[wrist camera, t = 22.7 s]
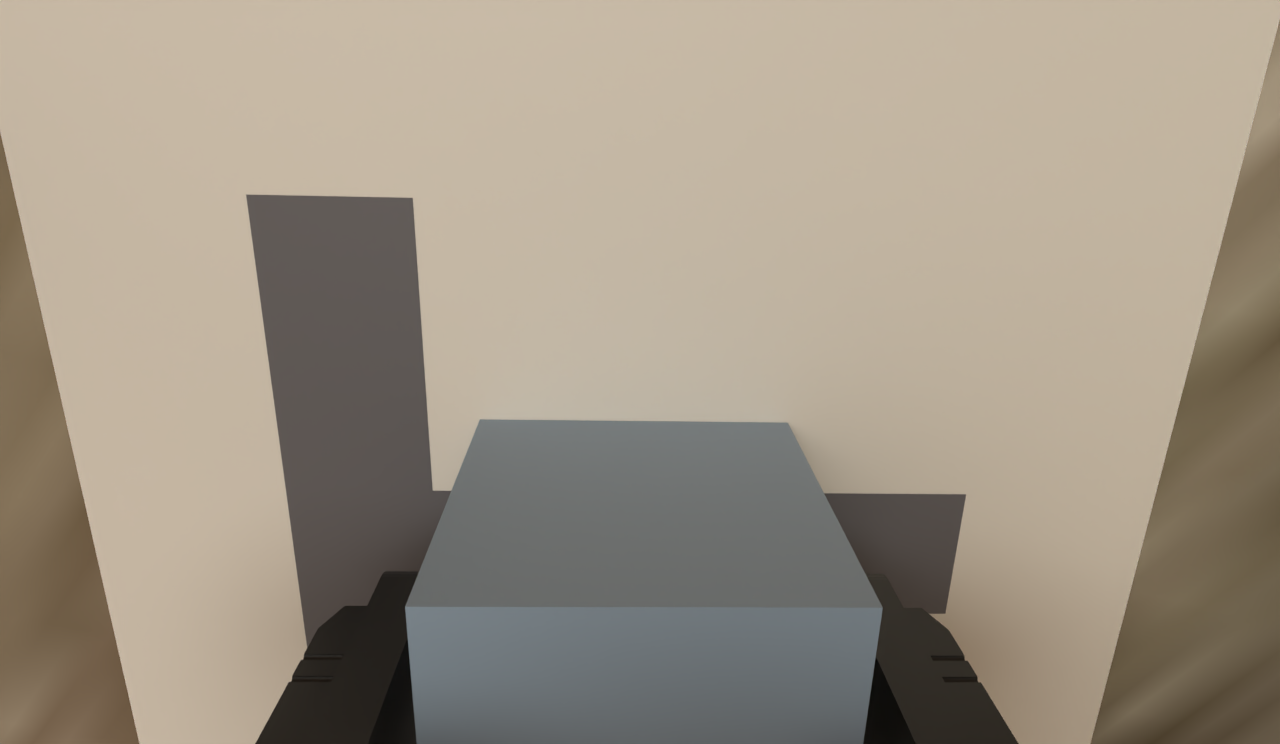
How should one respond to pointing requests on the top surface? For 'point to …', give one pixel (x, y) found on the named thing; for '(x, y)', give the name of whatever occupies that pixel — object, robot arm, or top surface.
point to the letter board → (619, 288)
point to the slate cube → (640, 592)
